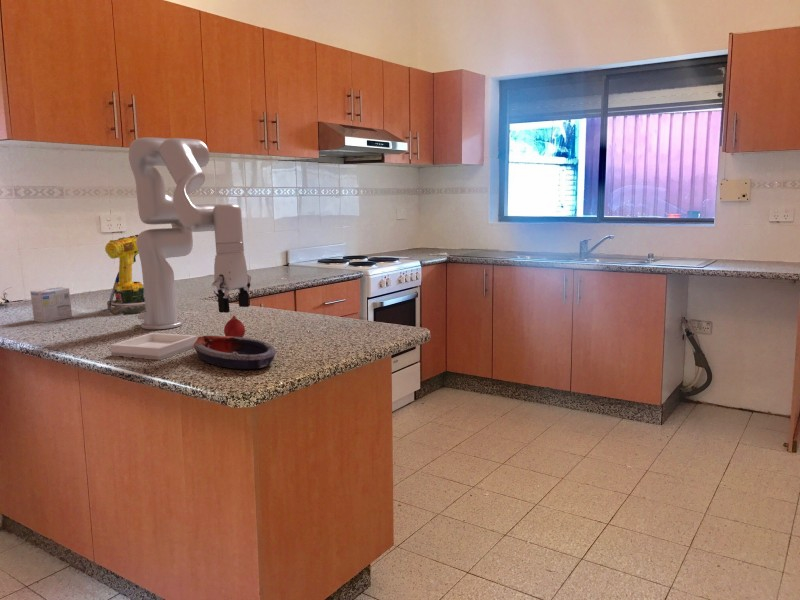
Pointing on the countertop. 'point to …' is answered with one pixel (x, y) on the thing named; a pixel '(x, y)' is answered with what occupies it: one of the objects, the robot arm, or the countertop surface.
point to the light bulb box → (51, 304)
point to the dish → (234, 352)
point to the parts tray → (154, 346)
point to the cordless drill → (125, 278)
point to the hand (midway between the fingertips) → (234, 309)
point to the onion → (234, 328)
